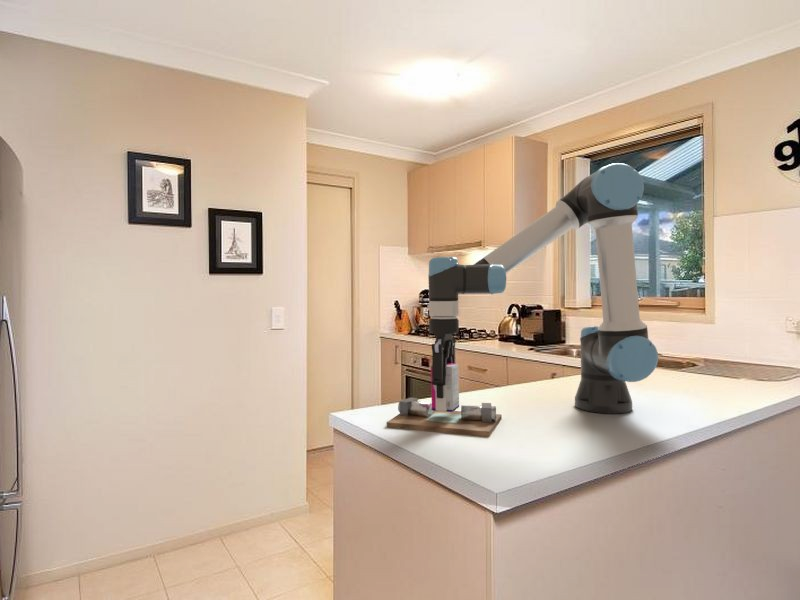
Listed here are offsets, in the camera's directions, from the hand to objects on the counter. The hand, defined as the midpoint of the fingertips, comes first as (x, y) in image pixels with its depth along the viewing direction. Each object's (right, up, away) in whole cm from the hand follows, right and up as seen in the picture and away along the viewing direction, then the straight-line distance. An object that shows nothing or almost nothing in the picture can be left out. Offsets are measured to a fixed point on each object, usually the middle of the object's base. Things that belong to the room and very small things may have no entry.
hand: (444, 407), depth 127 cm
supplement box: (0, -1, 0) cm, 1 cm away
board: (0, -4, 0) cm, 4 cm away
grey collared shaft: (+8, -3, -2) cm, 9 cm away
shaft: (-7, -3, +4) cm, 9 cm away
